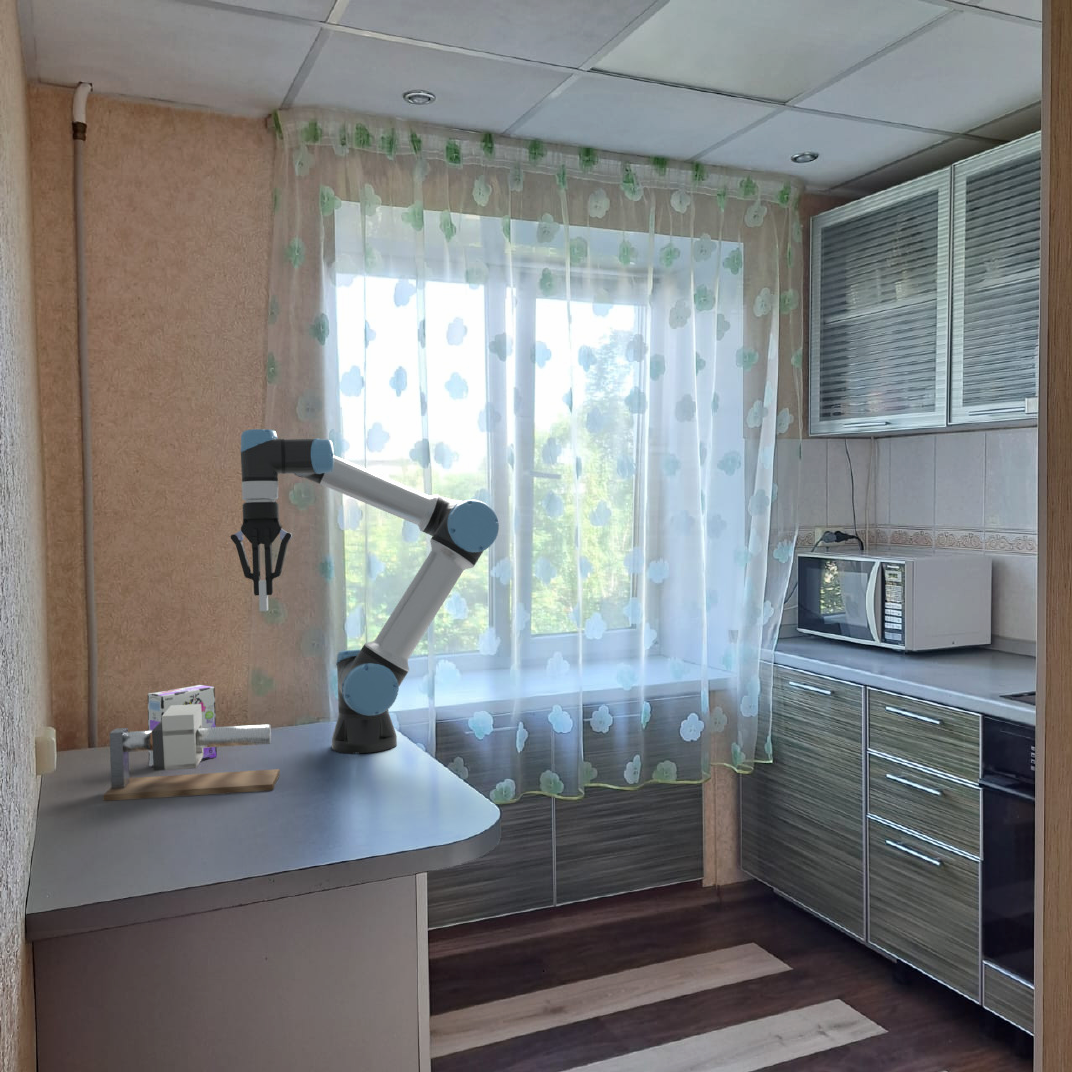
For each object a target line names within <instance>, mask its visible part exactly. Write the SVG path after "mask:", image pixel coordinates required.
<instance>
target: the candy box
mask: <svg viewBox="0 0 1072 1072" xmlns="http://www.w3.org/2000/svg"><path fill="white" fill-rule="evenodd" d="M215 691H216V690H215V686H211V685H203V684H196V685H192V686H186V687H181V688H174V689H168V690H162V691H158V692H157V691H156V692H148V693H147V715H148V716H147V719H148V720H147V721H148V722H147V723H148V724H147V725H148V726H147V727H148V728H147V729H148V730H147V731H152V730H153V729H154V728H155V727H156V726H157V725H158V724H159V723H160V722H161V721H162V715H163V714H164V713H165V712H166V711H167V709H168V708H169V707H170V706H171V705H191V704H201V711H202V728H208V727H217V721H216V692H215ZM217 748H218V747H209V748H203V752H204V756H203V758H202V759H201V761H205V760H208V759H214V758H217V757H218V756H217V755H218V753H217V752H218V750H217ZM201 761H200V762H201ZM148 766H149V767H152V768H154V766H153V751H148Z"/></svg>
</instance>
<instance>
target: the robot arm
mask: <svg viewBox="0 0 1072 1072" xmlns="http://www.w3.org/2000/svg"><path fill="white" fill-rule="evenodd" d="M334 454H335V453H334V445H333V441H332V440H330V439H324V438H317V437H315V438H295V439H292V438H291V439H285V438H283V439H282V438H278V435H277V432H276V430H273V429H268V428H267V429H264V428H256V429H255V428H254V429H246V430H244V431H242V432H241V435H240V465H241V495H242V496H241V498H242V501H244V502H243V504H242V524H241V526H240V530H239V531H237V532H235V533H234V534H233V533H232V534H231V535H230V540H231V541H232V542H233V544H234V545H235V546H236V552H237V554H238V558H239V562H240V565H241V569H242V572H243V576H244V578H245V579H249V580H252V581H253V594H254V596H258V598H259V599H258V604H259V612H267V611H269V596H272V595H273V593H274V589H273V582H274V579H276V578H279V577H280V576H281V575H282V573H283V565H284V562H285V558H286V552H287V548H288V543H289V542H290V540H291V539H292V537H293V534H292V533H291V532H289V531H288V532H287V531H286V530H284V529H283V526H282V524H281V523H280V507H279V506H280V505H279V503H278V502H277V500H278V499H279V478H278V476H279V474H282V475H285V474H293V475H294V476H297V477H300V478H302V479H303V478H304V479H306V480H309V481H311V482H313V483H316V484H318V485H319V484H320V486H324V487H326V488H328V489H331V490H334V491H336V492H338V493H341V494H343V495H346V496H348V497H350V498H353V499H355V500H357V501H359V502H361V503H365V504H367V505H369V506H372V507H373V508H377V509H379V510H381V511H383V512H385V513H388V514H390V515H393V516H395V517H397V518H400V519H403V520H405V521H407V522H410V523H412V524H414V525H416V526H417V527H418V528H419V531H420V532H422V533H424V534H427V535H430V536H431V538H430V539H429V541H430V542H429V543H430V546H431V551H430V552H429V553H428V555H427V557H426V558H425V561H423V563H422V565H421V566H420V568H419V570H418V571H417V573H416V574H415V576H414V577H413V579H412V581H411V582H410V584H409V585H408V587H407V588H406V590H405V591H404V594H403V595H402V597H401V598H400V599H399V601H398V603H397V604H396V606H395V608H394V609H393V611H391V612H392V613H391V614H390V615H389V617H388V618H387V620H386V622H385V623H384V625H383V627H382V628H381V629H380V632H379V633H378V634H377V636H376V638H375V639H374V640H372V641H369V642H365V643H363V645H362V648H360V649H350V650H340V651H339V652H338V653H337V655H336V662H335V664H336V665H335V666H336V668H337V670H336V671H337V672H336V673H337V706H338V710H337V711H338V716H337V720H336V723H335V726H334V730H333V733H332V737H331V749H332V750H333V751H334V752H339V753H343V754H370V753H378V752H382V751H386V750H390V749H392V748H394V747H396V746H397V744H398V739H397V736H398V735H397V732H396V730H395V727H394V725H393V724H394V723H393V721H392V719H391V716H390V713H389V709H390V708H391V707H392V706H393V705H394V703H395V702H396V700H397V697H398V695H399V689H400V688H399V687H400V686H401V684H402V683H403V681H404V680H405V678H406V676H407V674H408V673H409V671H410V668H409V662H408V660H409V659H410V657H411V655H412V654H413V652H414V650H415V649H416V648H417V646H418V645H419V643H420V641H421V640H422V638H423V637H424V634H425V632H426V631H427V630H428V628H429V626H431V624H432V622H433V620H434V619H435V617H436V615H437V614H438V612H439V611H440V610H441V608H442V605H443V604H444V602H445V601H446V599H447V598H448V596H449V595H450V593H451V592H452V590H453V588H454V587H455V585H456V583H457V581H458V580H459V579H460V577H461V575H462V574H463V572H464V571H466V570H468V569H471V568H474V567H475V565H476V563H477V562H478V561H479V559H480V557H481V556H482V554H483V553H484V551H486V550H487V549H489V548H490V547H491V546H492V545H493V544H494V542H495V541H496V539H497V537H498V535H499V529H500V528H499V526H500V525H499V523H500V522H499V520H498V516H497V513H495V510H494V509H493V508H492V507H491V506H490V505H488V504H487V503H485V502H483V501H481V500H479V499H473V498H467V499H462V500H455V499H451V498H448V497H445V496H441V495H440V494H436V493H435V494H433V495H428V494H426V493H423V492H422V491H419V490H416V489H415V488H412V487H409V486H407V485H404V484H402V483H400V482H399V481H395V480H393V479H391V478H388V477H386V476H384V475H381V474H379V473H377V472H374V471H372V470H370V469H367V468H365V467H362V466H360V465H358V464H356V463H353V462H351V461H349V460H346V459H343V458H342V457H339V456H337V455H334ZM279 534H280V536H279ZM244 536H245V538H246V539H247V541H248V542H249V543H250V544H251V549H252V551H251V552H252V569H251V566H250V564H249V560H248V557H247V553H246V549H245V546H244V543H243V540H244ZM278 536H279V539H280V544H279V550H278V554H277V559H276V564H275V567H274V568H275V569H274V571H273V543H274V542H275V540H276V539H277V538H278ZM261 544H262V545H263V547H264V569H265V570H264V571H265V573H264V574H265V578H264V579H262V578H261V555H260V553H261V550H260V549H261ZM261 579H262V580H261Z"/></svg>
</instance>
